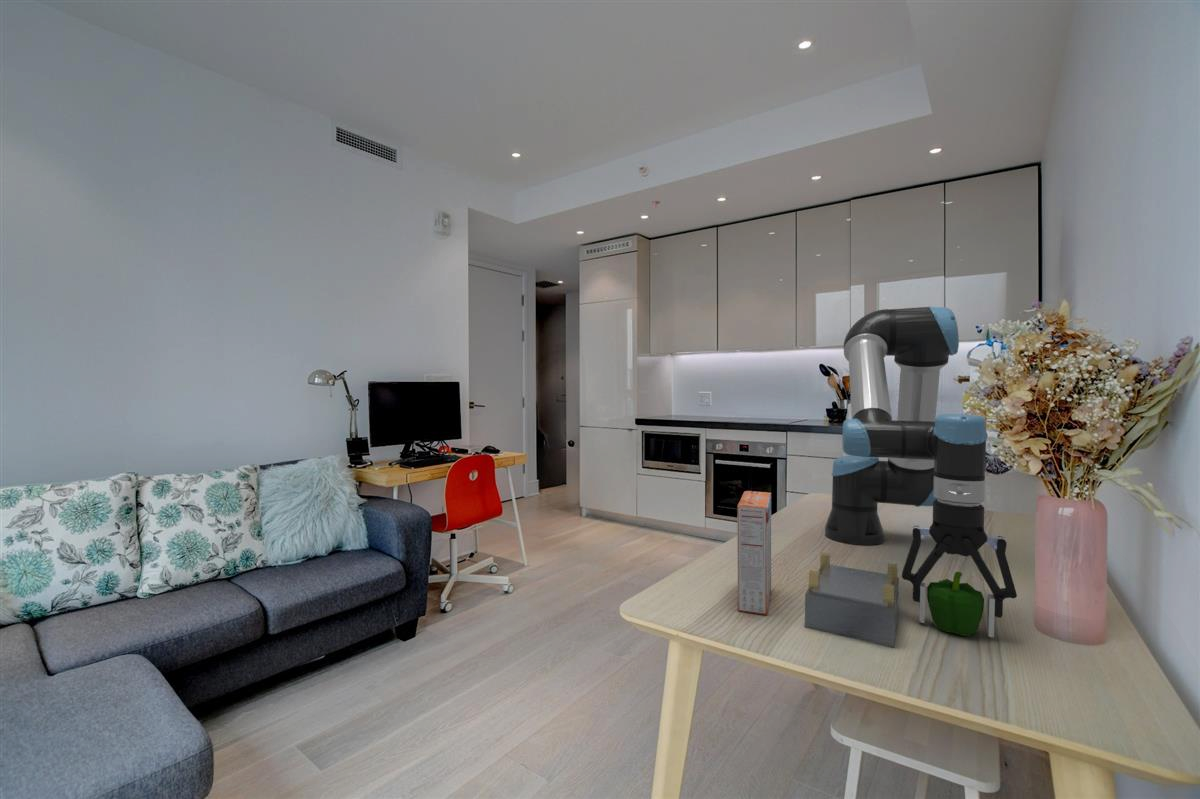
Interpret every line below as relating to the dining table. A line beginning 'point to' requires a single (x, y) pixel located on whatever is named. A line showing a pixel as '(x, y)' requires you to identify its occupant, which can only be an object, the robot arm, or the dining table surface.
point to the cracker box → (754, 552)
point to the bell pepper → (955, 606)
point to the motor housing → (853, 602)
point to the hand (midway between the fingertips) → (955, 626)
